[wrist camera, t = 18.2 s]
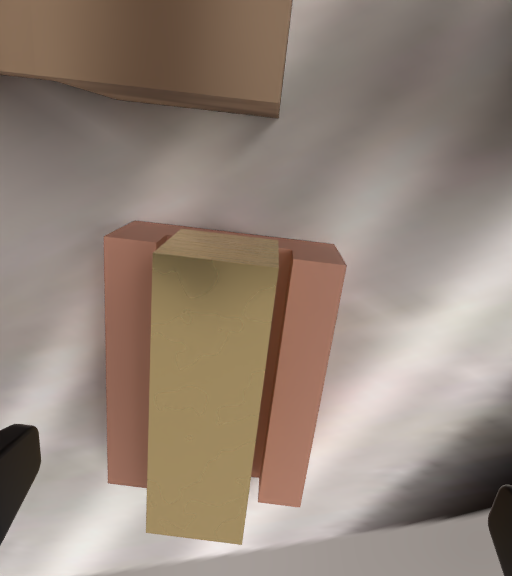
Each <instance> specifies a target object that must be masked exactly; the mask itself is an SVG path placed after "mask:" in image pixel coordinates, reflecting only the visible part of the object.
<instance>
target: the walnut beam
mask: <svg viewBox="0 0 512 576" xmlns="http://www.w3.org/2000/svg"><path fill="white" fill-rule="evenodd" d="M292 1H293V0H0V75H9V76H18V77H26V78H35V79H44V80H52V81H57V82H60V83H63V84H67V85H70V86H73V87H77V88H80V89H83V90H87V91H90V92H93V93H97V94H100V95H103V96H107V97H110V98H113V99H117V100H125V101H133V102H142V103H151V104H159V105H168V106H177V107H185V108H194V109H203V110H211V111H220V112H228V113H237V114H246V115H254V116H263V117H272V118H279V110H280V102H281V93H282V85H283V76H284V68H285V60H286V51H287V43H288V34H289V26H290V17H291V9H292Z"/></svg>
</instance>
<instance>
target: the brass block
mask: <svg viewBox="0 0 512 576" xmlns="http://www.w3.org/2000/svg"><path fill="white" fill-rule="evenodd" d="M278 270H279V245H278V240H272V239H264V238H255V237H247V236H238V235H230V234H221V233H213V232H204V231H196V230H188V229H180V230H179V231H178V232H177V233H176V234H174V235H173V236H172V237H171V238H170V239H169V240H167V241H166V242H165V243H164V244H163V245H161V246H160V247H159V248H158V249H157V250H155V251H154V252H153V259H152V301H151V344H150V386H149V428H148V470H147V512H146V533H153V534H161V535H168V536H176V537H184V538H192V539H200V540H208V541H216V542H224V543H232V544H239V545H242V540H243V532H244V525H245V517H246V510H247V502H248V495H249V487H250V480H251V472H252V465H253V457H254V450H255V442H256V435H257V428H258V420H259V413H260V405H261V398H262V390H263V383H264V375H265V368H266V360H267V353H268V345H269V338H270V330H271V323H272V315H273V308H274V300H275V293H276V285H277V278H278Z"/></svg>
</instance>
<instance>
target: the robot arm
mask: <svg viewBox="0 0 512 576" xmlns="http://www.w3.org/2000/svg"><path fill="white" fill-rule="evenodd" d="M40 464H41V454H40V442H39V432H38V429H37V428H36V427H35V426H32V425H24V424H13V425H11V426H9V427H6V428H4V429H2V430H0V545H1V543H2V541H3V540H4V538H5V536H6V534H7V532H8V530H9V528H10V526H11V524H12V522H13V520H14V518H15V516H16V514H17V512H18V510H19V508H20V506H21V504H22V502H23V501H24V499H25V497H26V495H27V493H28V491H29V489H30V487H31V485H32V483H33V481H34V479H35V477H36V475H37V473H38V471H39V468H40ZM488 526H489V531H490V534H491V537H492V540H493V543H494V546H495V549H496V552H497V555H498V558H499V561H500V564H501V567H502V570H503V573H504V576H512V485H503V486H502V487H501V488H500V489H499V491H498V493H497V496H496V498H495V501H494V503H493V506H492V508H491V511H490V513H489V517H488Z"/></svg>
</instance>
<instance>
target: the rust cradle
mask: <svg viewBox="0 0 512 576" xmlns="http://www.w3.org/2000/svg"><path fill="white" fill-rule="evenodd" d="M180 229H188V230H196V231H204V232H213V233H221V234H230V235H238V236H247V237H255V238H264V239H272V240H278V245H279V270H278V278H277V285H276V293H275V300H274V308H273V315H272V323H271V330H270V338H269V345H268V353H267V360H266V368H265V375H264V383H263V390H262V398H261V405H260V413H259V420H258V428H257V435H256V442H255V450H254V457H253V465H252V472H251V477H258V478H259V494H258V502H261V503H269V504H277V505H285V506H292V507H300V505H301V499H302V494H303V489H304V484H305V479H306V474H307V468H308V463H309V458H310V453H311V448H312V442H313V437H314V432H315V427H316V422H317V416H318V411H319V406H320V401H321V396H322V391H323V385H324V380H325V375H326V370H327V365H328V359H329V354H330V349H331V344H332V339H333V333H334V328H335V323H336V318H337V313H338V308H339V302H340V297H341V292H342V287H343V282H344V276H345V271H346V266H347V265H346V264H345V262H344V260H343V258H342V257H341V255H340V253H339V252H338V250H337V248H336V247H335V245H334V244H327V243H319V242H311V241H302V240H294V239H285V238H277V237H269V236H260V235H252V234H243V233H235V232H227V231H218V230H210V229H201V228H193V227H185V226H176V225H168V224H159V223H151V222H142V221H133V222H131V223H129V224H127V225H125V226H123V227H121V228H119V229H117V230H115V231H113V232H111V233H109V234H108V235H106V236H104V281H105V340H106V398H107V457H108V483H110V484H118V485H126V486H134V487H142V488H147V470H148V428H149V386H150V344H151V301H152V259H153V252H154V251H155V250H157V249H158V248H159V247H160V246H161V245H163V244H164V243H165V242H166V241H167V240H169V239H170V238H171V237H172V236H173V235H174V234H176V233H177V232H178V231H179V230H180Z"/></svg>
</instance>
